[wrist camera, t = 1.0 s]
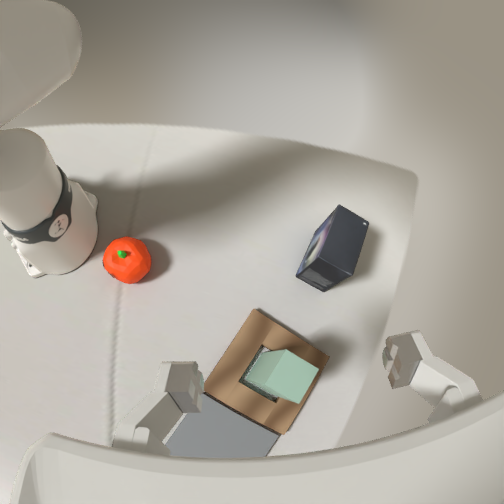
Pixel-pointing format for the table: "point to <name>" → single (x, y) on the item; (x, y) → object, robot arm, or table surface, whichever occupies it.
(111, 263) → the pumpkin
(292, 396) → the green block
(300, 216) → the table surface
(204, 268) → the table surface
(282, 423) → the pocket board
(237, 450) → the rubber mat
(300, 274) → the small box
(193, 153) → the table surface
